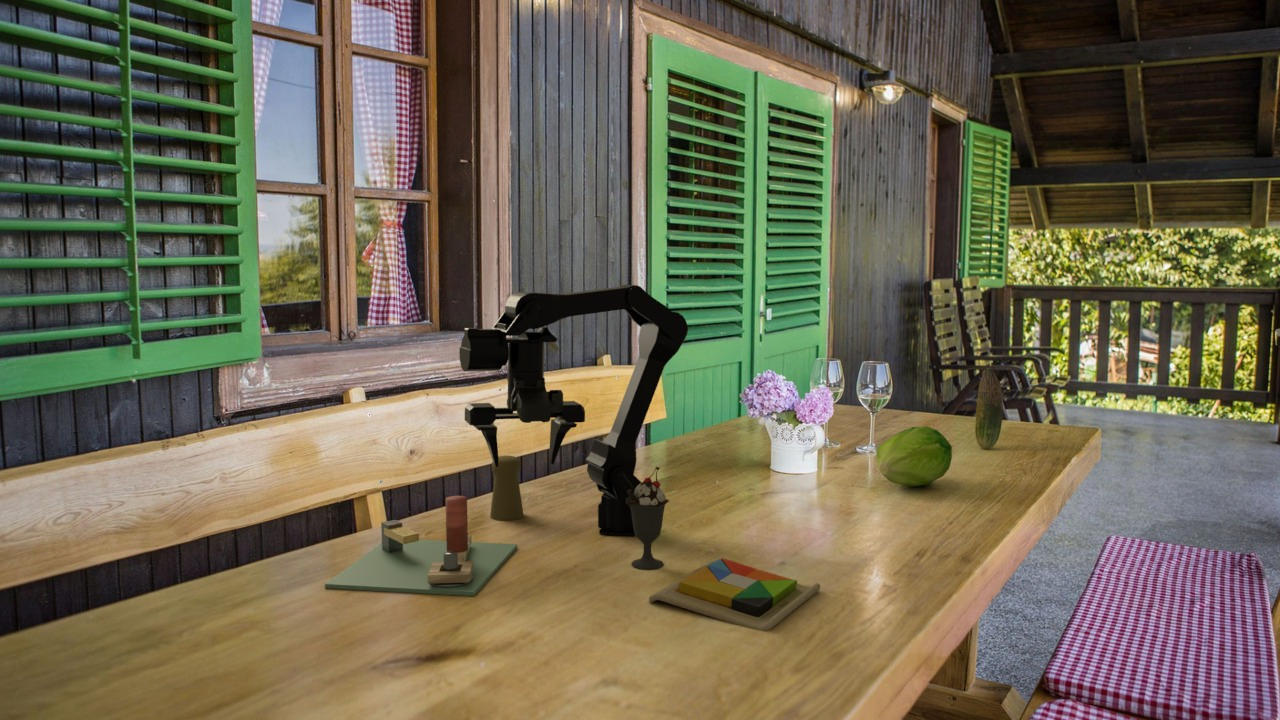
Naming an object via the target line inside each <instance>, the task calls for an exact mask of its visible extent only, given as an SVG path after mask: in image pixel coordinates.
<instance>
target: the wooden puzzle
mask: <svg viewBox="0 0 1280 720" xmlns="http://www.w3.org/2000/svg"><path fill="white" fill-rule="evenodd" d="M820 590H821V584H820V583H814V584H813V585H812V586H807V585H805V584H804V585H803V584H799V583H798V580H797V579H793V578H789V577H786V576H782V575H778V574H776V573H775V574H774V573H772V572H768V571H765V570H761V569H758V568H755V567H752V566H748V565H745V564H743V563H739V562H737V561H733V560H730V559H726V558H723V557H721V558H718V559H717V560H710V561H708V562H706V563H705V564H703V565H701V566H700V567H698V568H697V569H694V570H693V571H692V572H689V573H688V574H686V575H685V576H683V577H681V578H679V579H678V580H676V581H674V582H672V583H670V584H669V585H667V586H666V587H663V588H662V589H660V590H658V591H656V592H655V593H653V594H651V595H650V596H649V597H648V602H649V603H650V604H654V603H656V602H658V601H661V602H664V603H668V604H670V605H673V606H676V607H679V608H682V609H683V608H684V609H685V610H689V611H692V612H694V613H698V614H701V615H704V616H707V617H711V618H714V619H716V620H718V621H719V620H720V621H722V622H726V623H729V624H733V625H736V626H740V627H743V628H748V629H753V630H757V631H761V632H768V631H770V630H771V629H773V628H774V627H775V626H777V625H778V624H779V623H780V622H781V621H783V619H785V618H786V617H787V616H789V615H790V614H791V613H792V612H793V611H795V610H796V609H797V608H798V607H800V606H801V605H802V604H804V603H805V602H806V601H808V600H809V599H810V598H811V597H813V596H814V594H816V593H817V592H819V591H820Z"/></svg>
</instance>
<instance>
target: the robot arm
mask: <svg viewBox="0 0 1280 720" xmlns="http://www.w3.org/2000/svg"><path fill="white" fill-rule="evenodd" d="M621 310H624V311H625V312H626V313H627V315H628V316H629V317H630V318H631V320H632V321H633V322H634V323H635V324H637V325H638V327H640V328H639V329H640V330H639V336H638V358H637V361H636V363H635V366H634V369H633V371H632V374H631V376H630V380H629V382H628V384H627V387H626V389H625V393H624V395H623V397H622V400H621V403H620V405H619V407H618V408H619V409H618V411H617V413H616V416H615V419H614V421H613V424H612V427H611V430H610V431H609V433H608V434H607V436H606V437H604V438H603V440H600V439H598V438H595V439H594V440H593V442H592V447H591V451H590V453H589V455H588V456H587V457H586V459H585V461H586V462H588V463H587V467H586V470H587V471H586V472H587V474H588V477H589V479H590V480H591V481H592V482H594V483H595V486H596V488H597V490H598V491H599V492H602V495H601V497H600V502H599V503H598V505H597V527H598V528H599V531H598V533H599V534H600V535H611V536H612V535H614V536H635V533H634V528H633V521H632V513H631V508H630V506H627V504H626V499H627V498H628V497H630V496H629V495H628V492H627V491H628V490H629V489H631V491H632V492H633V494H634V491H635V488H636V487H637V486H638V485H639V483H642V482H643V481H641V480H640V479H639V478H638V477H636V475H634V474H635V470H636V465H637V441H638V438H639V435H640V433H641V430H642V427H643V425H644V422H645V419H646V417H647V414H648V411H649V409H650V406H651V403H652V400H653V398H654V396H655V393H656V390H657V388H658V385H659V382H660V379H661V377H662V375H663V371H664V369H665V367H666V365H667V364H668V363H669V362H670V360H671V359H673V357H674V356H675V355H676V354H677V353H678V352H679V350H680V348H681V347H682V345H683V343H684V342H685V340H686V338H687V336H688V332H689V325H688V323H687V320H686V319H685V317H684V315H682V314H681V313H679V312H676V311H672V310H670V308H669V307H668V306H666V305H664V304H663V303H661V302H660V301H659V300H657V299H656V298H654V297H653V296H652V295H650V294H649V293H648V292H647V291H646V290H644V288H642V287H641V286H640V285H635V284H622V285H620V286H614V287H606V288H599V289H591V290H584V291H581V290H580V291H575V292H566V293H547V292H546V293H545V292H533V291H531V292H530V291H517V292H514V293H511V295H510V296H509V297H508V299H507V300H506V303H505V305H504V311H503V313H501V315H500V316H499V318H498V319H497V321H496V322H495V324H494V325H493V326H492V327H491V328H475V327H464V330H463V331H464V334H463V336H462V339H461V343H460V347H459V363H460V367H461V369H462V371H463V372H493V371H494V372H496V371H497V372H498V371H500V370H502V367H504V366H505V367H506V366H507V375H506V377H507V378H506V380H507V399H506V406H507V407H496V406H495V405H493V404H491V403H490V402H475V403H473V402H472V403H471V402H469V403H467V404H466V406H465V407H464V421H465V422H466V423H467V424H468V425H469V426H473V427H474V428H475V429H476V430H477V431H481V434H482V435H483V437H484V440H485V442H486V445H487V448H488V451H489V454H490V457H491V459H492V462H493V463H494V466H495V467H498V460H499V458H498V457H499V450H498V449H499V447H498V438H497V435H498V427H497V426H496V425H495V422H496V420H516V419H517V420H518V419H519V420H520V422H522V423H524V424H525V423H526V424H530V423H532V422H542V423H549V422H550V434H549V451H548V452H549V453H548V455H549V456H548V458H549V464H550V465H555V462H556V459H557V456H558V454H559V451H560V448H561V445H562V443H563V441H564V439H565V437H566V435H567V434H568V432H569V431H570V430H571V429H572V428H577V426H578V423H585V422H586V410H585V407H584V406H583V405H582V404H581V403H579V402H577V401H575V400H564V393H563V390H561V389H550V390H549V391H547V388H546V378H545V377H544V374H545V373H544V372H545V368H544V367H545V343H557V341H558V338H557V337H556V336H555V335H554V334H552V332H551V331H550V330H549V328H548V327H547V326H549V325H552V324H555V323H558V321H561V320H563V319H567V318H568V317H569V318H570V317H575V316H582V315H590V314H599V313H606V312H612V311H621ZM529 329H530V330H536V329H538V331H528V330H529ZM507 336H511V337H507ZM514 336H515V337H514ZM516 336H518V337H516ZM506 364H507V365H506ZM635 537H636V536H635Z"/></svg>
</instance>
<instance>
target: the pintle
mask: <svg viewBox="0 0 1280 720" xmlns="http://www.w3.org/2000/svg"><path fill="white" fill-rule="evenodd" d="M443 557H444V572H445V571H458V552H456V551H447V552H444V553H443ZM473 580H474V576H473V574H472V575H471V579H470V582H466V583H429V584H430V585H432V586H435V587H440V588H453V587H460V586H464V585H467V584H469V583H471V582H472V581H473Z"/></svg>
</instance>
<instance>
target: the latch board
mask: <svg viewBox="0 0 1280 720" xmlns="http://www.w3.org/2000/svg"><path fill="white" fill-rule="evenodd" d="M517 549H518V544H517V543H501V542H498V543H496V542H479V541H471V545H470V548H469V552H468V555H467V558H466V561H473V572H472V574H473V576H474V580H473V581H472V582H471V583H469V584H467V585H464V586H460V587H453V588H440V587H435V586H432V585H430V584H429V583H428V573H429V571H430V568H431V566H432V563H433V562H444V557H443V553H444V552H447V541H446V540H439V539H437V540H436V539H419V541H416V542H412V543H407V544H403V550H400V551H396V552H391V553H388V552H386V551H384V550H382V542H381V543H379V544H378V545H377V546H375V547H374V548H373V549H371V550H370V551H368V552H367V553H365V554H363V555H362V556H361V557H360V558H359V559H358V560H357V559H356V561H354V562H353V563H352V564H350V565H349V566H348V567H346V568H345V569H343V570H342V571H341V572H339V573H338V574H337V575H335V576H334V577H332V578H331V579H330V580H329V581H327V582H326V583H324V589H335V590H338V589H340V590H353V591H354V590H355V591H371V592H388V593H389V592H390V593H408V594H409V593H410V594H425V595H426V594H427V595H428V594H429V595H442V596H443V595H444V596H448V595H449V596H463V597H465V596H466V597H475V596H476V594H478V593H479V591H480V590H481V589H482V588H483V587H484V585H486V583H488V581H489V580H490V579H491V578H492V576H494V575H495V574H496V573H497V571H498V570H499V569H500V568H501V567H502V565H503V564H504V563H505V562H506V561H507V560H508V559H509V558H510V557H511V555H513V553H514V552H516V550H517Z"/></svg>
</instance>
